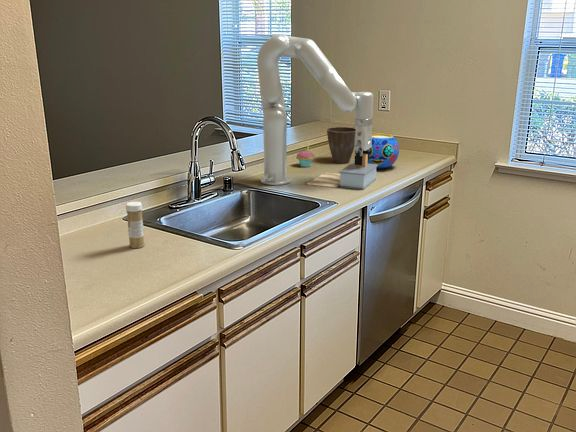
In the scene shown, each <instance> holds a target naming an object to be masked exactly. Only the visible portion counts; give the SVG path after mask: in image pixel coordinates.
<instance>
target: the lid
mask: <svg viewBox="0 0 576 432" xmlns="http://www.w3.org/2000/svg"><path fill="white" fill-rule="evenodd" d="M362 156H363V159H362V165H361V166H360V165H355V161H353V162H351V163H350V164H349V165H346V166H345V167H343V168H342V169H340V170H339V171H338V174H340V173H345V174H355V175H366V174H368V173H369V172H370V171H372V170H373V169H374V168H376V167H377V166H378V164H368V163H367V162H368V154H362ZM376 169H377V168H376Z"/></svg>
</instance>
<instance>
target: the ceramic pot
mask: <svg viewBox="0 0 576 432" xmlns="http://www.w3.org/2000/svg"><path fill="white" fill-rule="evenodd" d="M368 152H369V161H368V162H367V163H368V164H378V166H377V167H376V169H386V168H389V167H391V166H393V165H394V164H395V163H396V161H397V160H398V157H399V153H400V146H399V142H398V140H397V139H396V138H395V136H394V135H392V134H387V133H372V147H371V148H370V151H368Z"/></svg>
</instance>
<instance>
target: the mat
mask: <svg viewBox="0 0 576 432" xmlns="http://www.w3.org/2000/svg"><path fill="white" fill-rule="evenodd" d="M306 185H307V186H316V187H326V188H335V189H336V188H338V187H340V173H333V172H327V171H326V172H325V171H324V173H322V174H320V175H319V176H317V177H315V178H313V179H312V180H311V181H309V182H307V183H306Z"/></svg>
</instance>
